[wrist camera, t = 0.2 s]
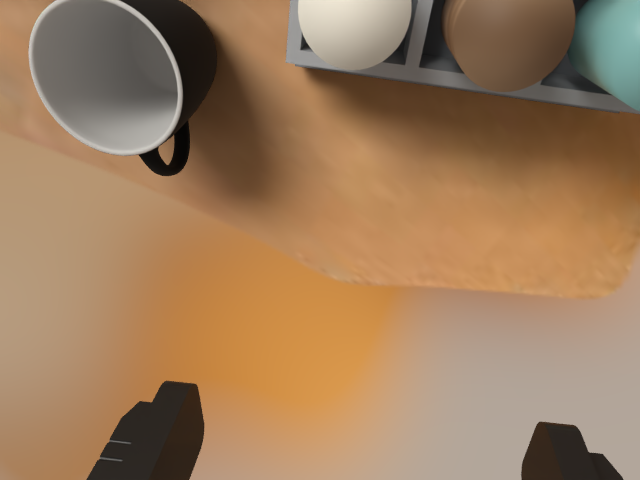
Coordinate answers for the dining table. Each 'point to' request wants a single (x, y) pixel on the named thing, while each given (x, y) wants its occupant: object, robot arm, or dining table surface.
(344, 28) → the white rounded piece
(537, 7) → the brown rounded cylinder
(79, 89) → the mug
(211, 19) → the dining table surface
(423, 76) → the grey compartment tray
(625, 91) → the teal rounded cylinder
